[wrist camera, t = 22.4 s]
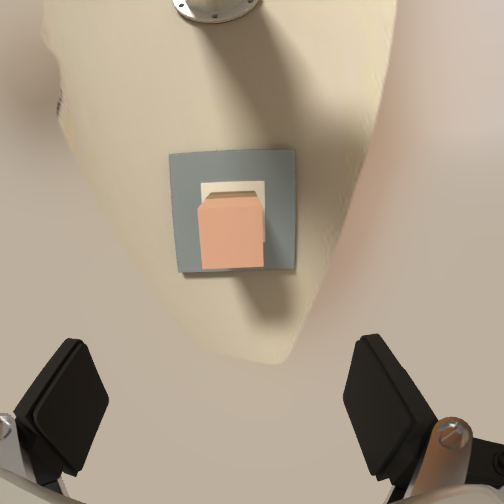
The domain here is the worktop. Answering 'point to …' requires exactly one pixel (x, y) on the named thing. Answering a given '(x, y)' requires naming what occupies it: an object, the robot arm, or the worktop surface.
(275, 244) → the baseplate
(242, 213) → the terracotta block
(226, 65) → the worktop surface
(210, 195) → the walnut block
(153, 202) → the worktop surface
